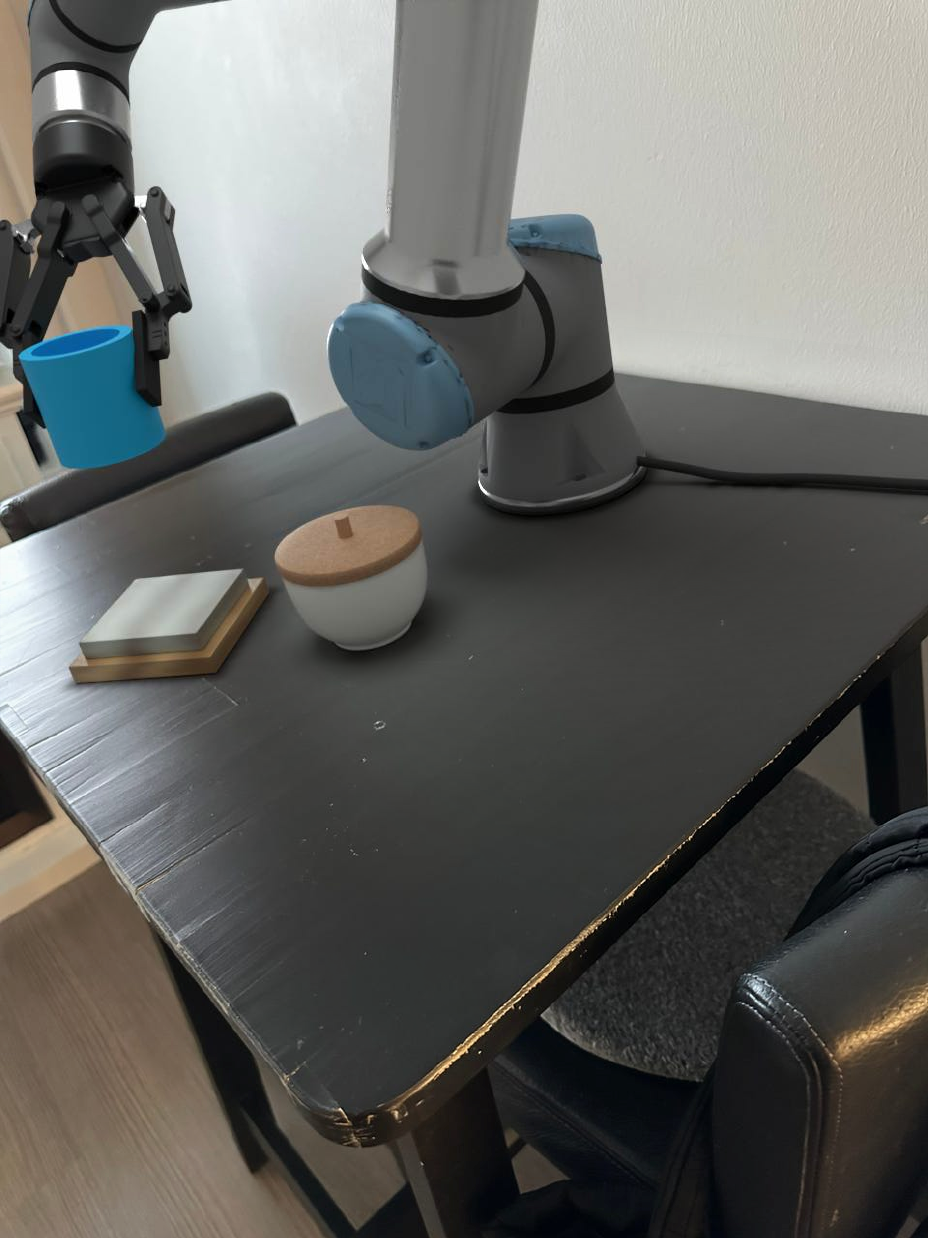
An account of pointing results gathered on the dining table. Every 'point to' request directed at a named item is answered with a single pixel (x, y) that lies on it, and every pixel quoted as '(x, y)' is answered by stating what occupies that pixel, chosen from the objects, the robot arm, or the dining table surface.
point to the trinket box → (356, 574)
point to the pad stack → (170, 627)
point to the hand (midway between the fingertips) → (93, 408)
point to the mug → (92, 397)
